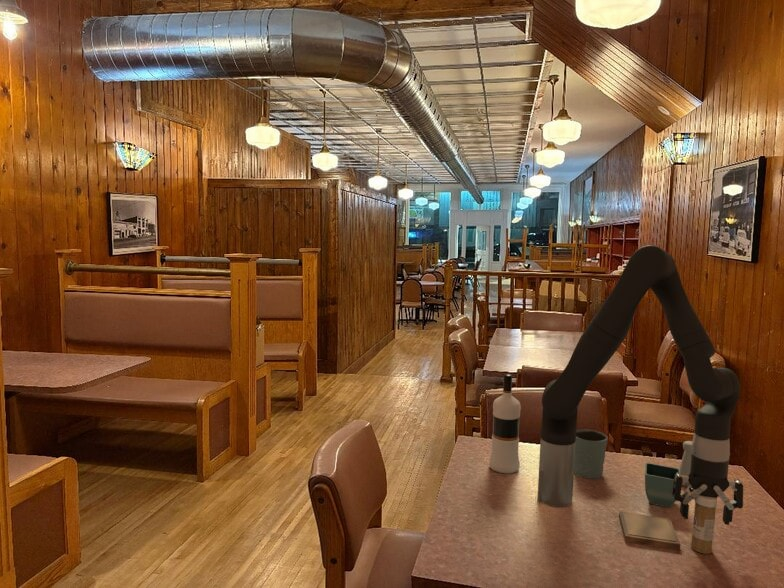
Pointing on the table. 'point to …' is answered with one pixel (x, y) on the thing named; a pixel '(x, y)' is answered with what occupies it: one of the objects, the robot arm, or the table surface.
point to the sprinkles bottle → (703, 524)
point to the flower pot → (660, 484)
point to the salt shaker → (686, 461)
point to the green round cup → (589, 453)
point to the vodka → (505, 431)
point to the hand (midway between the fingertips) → (705, 520)
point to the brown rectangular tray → (648, 530)
